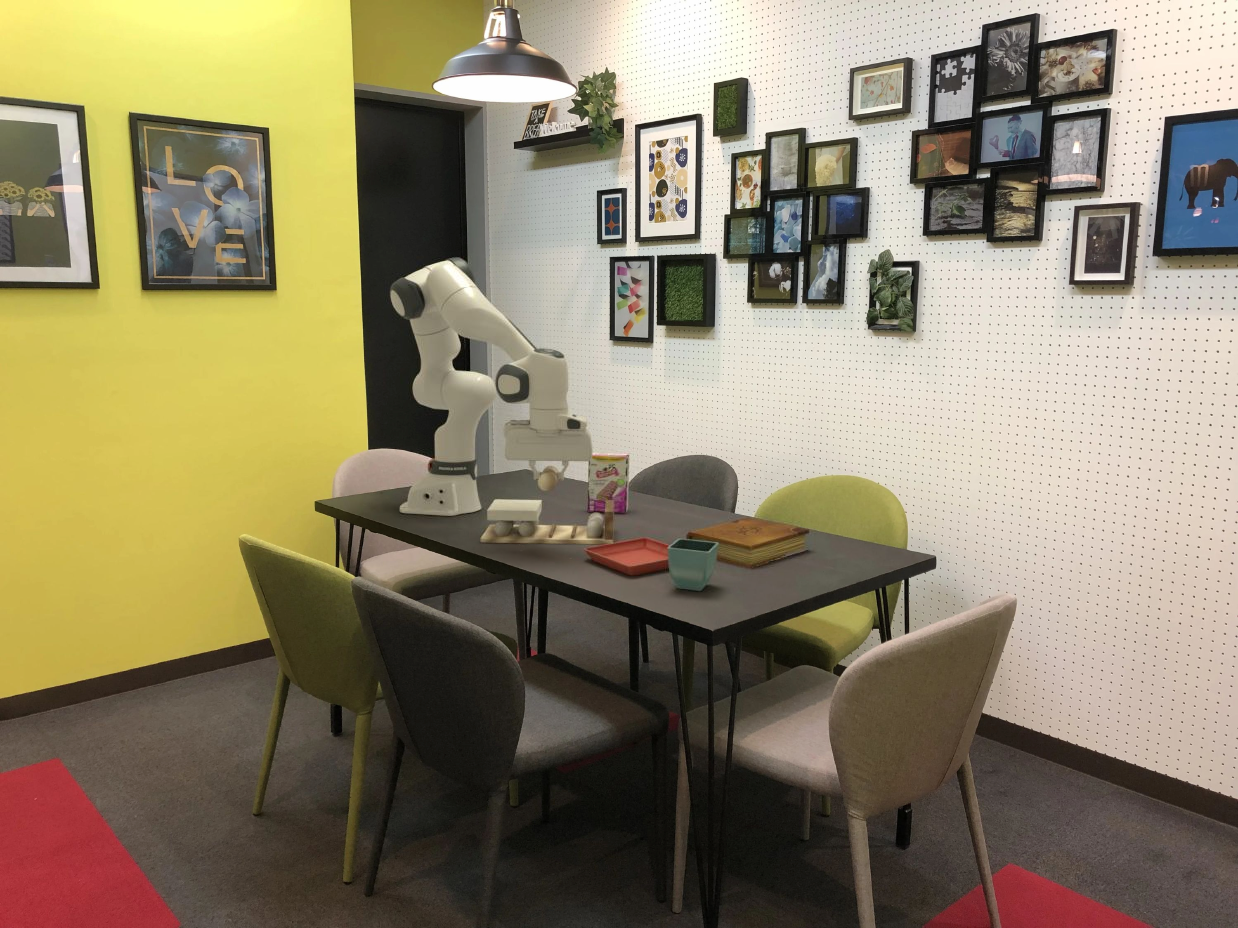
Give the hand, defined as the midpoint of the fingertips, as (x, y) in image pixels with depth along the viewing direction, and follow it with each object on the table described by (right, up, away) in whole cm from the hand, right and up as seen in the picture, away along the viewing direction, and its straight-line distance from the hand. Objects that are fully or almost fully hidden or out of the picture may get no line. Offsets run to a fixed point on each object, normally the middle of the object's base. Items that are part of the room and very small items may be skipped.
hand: (548, 479), depth 215 cm
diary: (+47, -18, +5) cm, 50 cm away
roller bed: (-1, -14, +17) cm, 22 cm away
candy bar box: (+13, -10, +47) cm, 50 cm away
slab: (-10, -9, +16) cm, 21 cm away
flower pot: (+31, -22, -25) cm, 45 cm away
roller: (0, -2, 0) cm, 2 cm away
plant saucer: (+21, -19, -7) cm, 29 cm away
